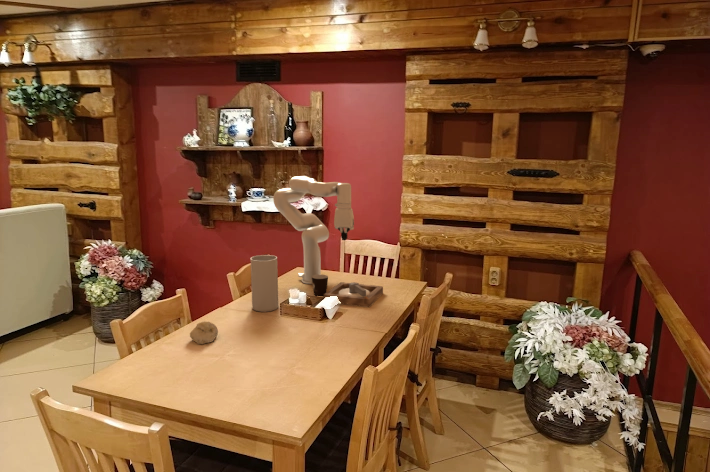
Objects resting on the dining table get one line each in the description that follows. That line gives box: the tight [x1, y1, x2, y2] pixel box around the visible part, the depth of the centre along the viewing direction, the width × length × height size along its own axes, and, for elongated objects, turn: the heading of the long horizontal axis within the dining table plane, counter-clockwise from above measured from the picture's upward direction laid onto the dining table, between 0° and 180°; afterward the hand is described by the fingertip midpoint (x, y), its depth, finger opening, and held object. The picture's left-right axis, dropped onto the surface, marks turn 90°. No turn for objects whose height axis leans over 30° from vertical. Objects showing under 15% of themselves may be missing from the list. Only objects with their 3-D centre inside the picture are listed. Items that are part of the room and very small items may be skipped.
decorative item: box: [189, 321, 219, 345], centre depth 205 cm, size 12×9×10 cm
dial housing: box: [323, 281, 384, 308], centre depth 260 cm, size 24×24×4 cm
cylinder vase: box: [250, 254, 279, 313], centre depth 242 cm, size 12×12×25 cm
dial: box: [339, 282, 370, 297], centre depth 257 cm, size 21×16×6 cm
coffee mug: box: [312, 273, 329, 297], centre depth 266 cm, size 12×9×10 cm
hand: (344, 239), depth 273 cm, fingers closed
